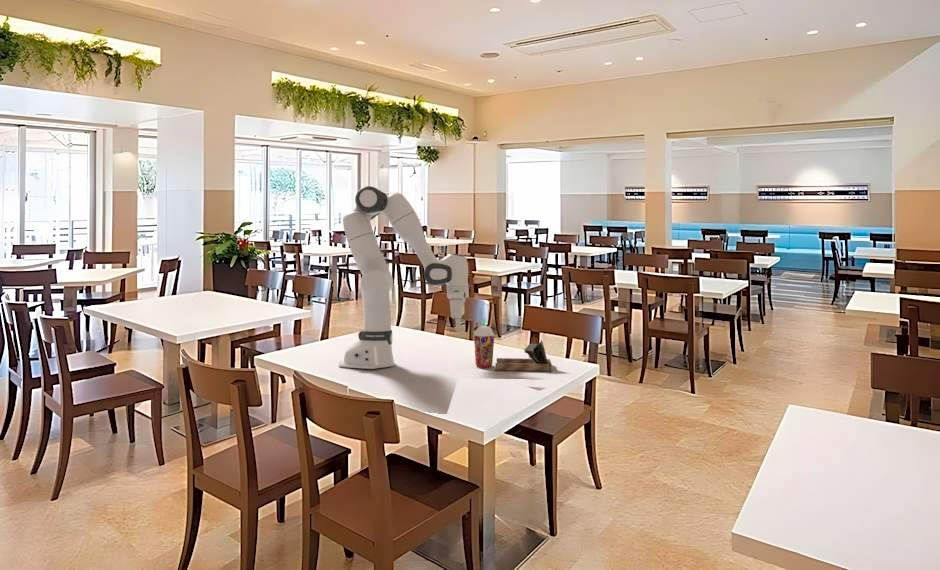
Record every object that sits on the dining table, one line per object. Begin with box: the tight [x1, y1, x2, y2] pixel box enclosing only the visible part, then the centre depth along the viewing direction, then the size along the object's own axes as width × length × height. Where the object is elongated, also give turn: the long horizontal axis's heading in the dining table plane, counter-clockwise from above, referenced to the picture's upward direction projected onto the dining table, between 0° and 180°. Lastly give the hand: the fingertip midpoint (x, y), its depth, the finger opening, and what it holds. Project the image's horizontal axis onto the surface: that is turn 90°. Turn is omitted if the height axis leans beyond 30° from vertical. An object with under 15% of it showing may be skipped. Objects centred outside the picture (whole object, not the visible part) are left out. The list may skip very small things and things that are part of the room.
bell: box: [524, 340, 548, 364], centre depth 251 cm, size 10×7×12 cm
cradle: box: [495, 357, 553, 373], centre depth 251 cm, size 22×14×3 cm, turn 86°
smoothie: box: [473, 318, 495, 369], centre depth 252 cm, size 8×8×20 cm
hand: (458, 327), depth 252 cm, fingers closed
